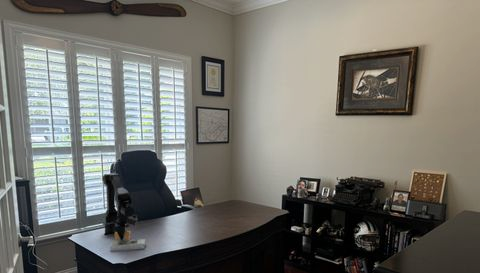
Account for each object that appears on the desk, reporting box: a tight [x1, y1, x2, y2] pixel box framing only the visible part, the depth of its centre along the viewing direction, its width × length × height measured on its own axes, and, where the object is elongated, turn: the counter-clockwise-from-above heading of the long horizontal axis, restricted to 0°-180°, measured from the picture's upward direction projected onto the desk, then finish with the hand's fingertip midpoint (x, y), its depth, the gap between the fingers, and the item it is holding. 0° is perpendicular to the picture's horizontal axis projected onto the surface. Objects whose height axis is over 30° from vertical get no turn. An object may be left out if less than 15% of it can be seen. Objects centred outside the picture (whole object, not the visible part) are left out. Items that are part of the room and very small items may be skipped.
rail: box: [109, 238, 146, 252], centre depth 161 cm, size 18×7×3 cm, turn 102°
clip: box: [114, 230, 131, 241], centre depth 169 cm, size 8×3×6 cm, turn 102°
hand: (122, 238), depth 169 cm, fingers closed on clip, 3 cm apart
